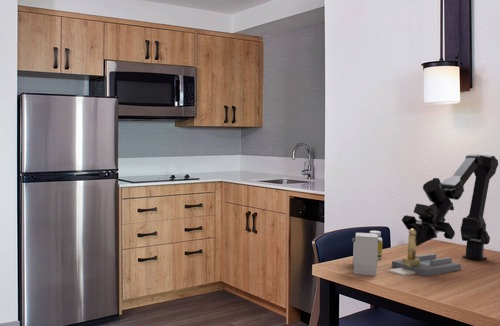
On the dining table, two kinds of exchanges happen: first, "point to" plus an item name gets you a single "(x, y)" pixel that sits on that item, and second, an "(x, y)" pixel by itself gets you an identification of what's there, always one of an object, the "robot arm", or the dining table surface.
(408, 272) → the cover
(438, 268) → the lock plate
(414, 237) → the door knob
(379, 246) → the supplement bottle
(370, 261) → the supplement box
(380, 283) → the dining table surface
